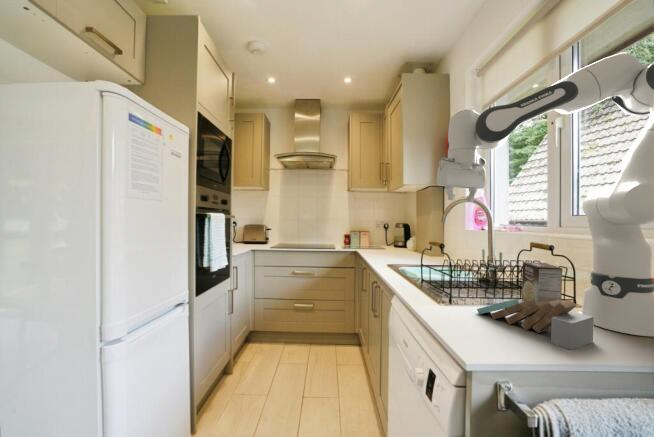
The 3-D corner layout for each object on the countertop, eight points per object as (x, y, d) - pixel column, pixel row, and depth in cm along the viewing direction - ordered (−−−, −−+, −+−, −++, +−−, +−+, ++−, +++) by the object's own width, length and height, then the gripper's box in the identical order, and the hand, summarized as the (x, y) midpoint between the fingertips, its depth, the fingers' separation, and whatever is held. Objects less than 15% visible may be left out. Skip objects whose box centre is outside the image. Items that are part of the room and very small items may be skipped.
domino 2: (490, 313, 82) (521, 302, 74) (501, 311, 84) (531, 300, 77) (493, 319, 81) (524, 308, 74) (504, 316, 83) (535, 306, 76)
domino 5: (531, 327, 72) (559, 302, 67) (542, 324, 74) (570, 300, 69) (537, 332, 71) (566, 308, 66) (548, 329, 73) (577, 305, 68)
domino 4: (520, 325, 74) (548, 301, 69) (531, 322, 77) (559, 299, 71) (525, 330, 73) (554, 307, 68) (536, 327, 75) (565, 304, 70)
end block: (572, 335, 70) (573, 311, 70) (593, 341, 67) (593, 316, 67) (551, 342, 66) (551, 317, 66) (571, 350, 62) (572, 323, 62)
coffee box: (520, 313, 87) (521, 261, 86) (543, 315, 85) (544, 262, 85) (536, 324, 78) (537, 266, 77) (562, 326, 76) (563, 267, 76)
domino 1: (476, 309, 86) (506, 301, 78) (487, 306, 88) (516, 299, 80) (479, 314, 85) (508, 307, 77) (489, 312, 87) (519, 304, 80)
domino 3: (505, 319, 78) (535, 302, 71) (515, 316, 80) (546, 300, 74) (509, 324, 77) (540, 308, 70) (519, 321, 79) (550, 306, 73)
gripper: (448, 154, 88) (447, 199, 88) (489, 161, 97) (489, 201, 97) (432, 158, 93) (431, 200, 93) (473, 164, 102) (472, 202, 102)
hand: (461, 200), depth 95 cm, fingers open, 8 cm apart
